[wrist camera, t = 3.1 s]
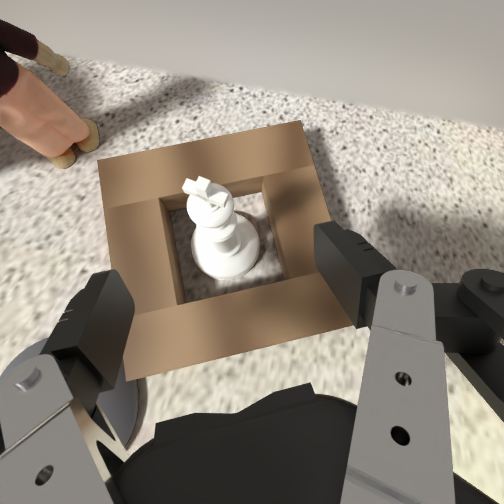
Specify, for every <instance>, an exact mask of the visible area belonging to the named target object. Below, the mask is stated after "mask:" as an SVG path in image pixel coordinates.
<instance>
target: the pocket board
mask: <svg viewBox="0 0 504 504" xmlns="http://www.w3.org/2000/svg"><path fill="white" fill-rule="evenodd" d="M97 162H98V170H99V178H100V185H101V193H102V200H103V208H104V216H105V223H106V231H107V239H108V246H109V254H110V262H111V269H115V270H117V271H118V273H119V274H120V276H121V278H122V280H123V281H124V283H125V285H126V287H127V289H128V290H129V292H130V294H131V296H132V298H133V300H134V304H135V313H134V317H133V321H132V324H131V328H130V332H129V336H128V339H127V343H126V347H125V350H124V354H123V361H124V368H125V376H126V382H127V381H131V380H135V379H139V378H143V377H147V376H151V375H155V374H159V373H163V372H167V371H171V370H175V369H179V368H183V367H187V366H191V365H195V364H199V363H203V362H207V361H212V360H216V359H220V358H224V357H228V356H232V355H236V354H240V353H244V352H248V351H252V350H256V349H260V348H264V347H268V346H272V345H276V344H280V343H284V342H288V341H292V340H296V339H300V338H304V337H308V336H312V335H316V334H320V333H324V332H328V331H332V330H336V329H340V328H344V327H348V326H352V325H353V323H352V322H351V320H350V318H349V317H348V315H347V314H346V312H345V311H344V309H343V308H342V306H341V305H340V303H339V301H338V300H337V298H336V297H335V295H334V294H333V292H332V291H331V289H330V288H329V286H328V284H327V283H326V281H325V280H324V278H323V277H322V275H321V274H320V272H319V271H318V269H317V267H316V264H315V259H314V232H313V229H314V225H315V224H319V223H324V222H328V221H331V219H330V215H329V212H328V209H327V205H326V202H325V199H324V195H323V192H322V189H321V186H320V182H319V179H318V176H317V172H316V169H315V166H314V163H313V159H312V156H311V153H310V149H309V146H308V143H307V140H306V136H305V133H304V130H303V126H302V123H301V120H298V121H293V122H288V123H283V124H278V125H273V126H268V127H263V128H258V129H253V130H248V131H243V132H238V133H233V134H228V135H223V136H218V137H212V138H207V139H202V140H197V141H192V142H187V143H182V144H177V145H172V146H167V147H162V148H157V149H152V150H147V151H142V152H137V153H132V154H127V155H122V156H116V157H111V158H106V159H101V160H97ZM199 176H200V177H203V178H206V179H208V180H210V181H211V183H215V184H219V185H221V186H223V187H225V188H226V189H227V190H228V191H229V192H230V193H231V195H232V197H233V198H234V197H239V196H244V195H248V194H253V193H258V192H262V195H263V199H264V203H265V207H266V211H267V215H268V219H269V223H270V226H271V230H272V234H273V238H274V242H275V246H276V250H277V254H278V258H279V262H280V266H281V269H282V273H283V277H284V281H279V282H275V283H271V284H267V285H262V286H258V287H254V288H250V289H245V290H241V291H237V292H232V293H228V294H224V295H220V296H215V297H211V298H207V299H203V300H198V301H194V302H190V303H186V299H185V293H184V288H183V282H182V277H181V271H180V266H179V260H178V255H177V249H176V244H175V238H174V233H173V227H172V222H171V216H170V211H173V210H178V209H182V208H187V201H188V198H189V196H190V195H189V194H186V193H184V191H183V189H182V187H183V185H184V183H185V181H186V179H187V178H188V179H190V180H193V181H197V179H198V177H199Z"/></svg>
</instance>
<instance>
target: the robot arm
mask: <svg viewBox="0 0 504 504" xmlns="http://www.w3.org/2000/svg"><path fill="white" fill-rule="evenodd" d="M313 232H314V259H315V264H316V267H317V269H318V271H319V272H320V274H321V275H322V277H323V278H324V280H325V281H326V283H327V284H328V286H329V288H330V289H331V291H332V292H333V294H334V295H335V297H336V298H337V300H338V301H339V303H340V305H341V306H342V308H343V309H344V311H345V312H346V314H347V315H348V317H349V318H350V320H351V322H352V323H353V325H354V326H355V328H356V329H358V328H362V327H366V326H368V328H369V329H370V331H371V332H370V338H369V343H368V349H367V355H366V361H365V366H364V372H363V378H362V384H361V389H360V395H359V401H358V406H357V405H355V404H353V403H351V402H349V401H346V400H344V399H341V398H338V397H334V396H330V395H323V394H315V393H314V390H313V388H312V385H311V382H310V383H307V384H303V385H299V386H295V387H291V388H288V389H284V390H280V391H276V392H273V393H271V394H270V395H268V396H266V397H264V398H263V399H261V400H259V401H257V402H256V403H254V404H252V405H250V406H249V407H247V408H245V409H243V410H242V411H240V412H238V413H233V414H225V413H193V414H189V415H185V416H181V417H178V418H174V419H170V420H166V421H162V422H159V423H156V427H155V435H154V438H153V439H151V440H150V441H148V442H147V443H146V444H144V445H143V446H141V447H140V448H139V449H138V450H137V451H135V452H134V453H133V454H132V455H131V456H130V455H129V454H128V452H127V451H126V450H125V448H124V447H123V445H122V443H121V442H120V440H119V438H118V436H117V434H116V433H115V431H114V429H113V427H112V426H111V424H110V422H109V420H108V418H107V417H106V415H105V413H104V411H103V410H102V408H101V406H100V405H99V404H98V403H97V399H98V395H99V393H101V392H105V391H109V390H113V389H114V388H115V384H116V380H117V377H118V373H119V369H120V365H121V362H122V358H123V354H124V350H125V347H126V343H127V339H128V336H129V332H130V328H131V324H132V321H133V317H134V313H135V304H134V300H133V298H132V296H131V294H130V292H129V290H128V289H127V287H126V285H125V283H124V281H123V280H122V278H121V276H120V274H119V273H118V271H117V270H115V269H112V270H107V271H103V272H98V273H94V274H92V276H91V277H90V279H89V281H88V283H87V285H86V286H85V288H84V289H82V290H80V291H79V292H78V293H77V294H76V295H75V296H74V297H73V298H72V299H71V300H70V302H69V304H68V306H67V307H66V309H65V313H63V314H62V316H61V318H60V319H59V322H58V323H57V325H56V326H55V328H54V330H53V332H52V333H51V335H50V337H49V338H48V340H47V342H46V344H45V345H44V347H43V349H42V351H41V352H40V354H39V355H38V356H35V357H32V358H30V359H28V360H26V361H25V362H23V363H21V364H20V365H18V366H17V367H16V368H14V369H13V370H12V371H11V372H10V373H9V374H8V375H7V376H6V377H5V378H4V379H3V381H2V382H1V383H0V504H499V503H497V502H496V501H495V500H493V499H492V498H490V497H489V496H487V495H486V494H484V493H483V492H482V491H480V490H479V489H477V488H476V487H474V486H473V485H472V484H470V483H469V482H467V481H466V480H464V479H463V478H461V477H460V476H459V475H457V474H456V473H454V472H453V465H452V451H451V438H450V424H449V411H448V397H447V383H446V370H445V356H444V352H445V353H446V354H447V355H448V357H449V358H450V359H451V360H452V361H453V363H454V364H455V365H456V366H457V367H458V369H459V370H460V371H461V372H462V373H463V374H464V376H465V377H466V378H467V379H468V380H469V382H470V383H471V384H472V385H473V386H474V388H475V389H476V390H477V391H478V392H479V394H480V395H481V396H482V397H483V398H484V400H485V401H486V402H487V403H488V404H489V405H490V407H491V408H492V409H493V410H494V411H495V413H496V414H497V415H498V416H499V417H500V419H501V420H502V421H503V422H504V346H503V345H502V344H501V343H500V340H501V339H502V338H503V339H504V273H501V272H498V271H494V270H488V269H474V270H470V271H467V272H466V273H464V275H463V276H462V279H461V281H460V283H430V281H429V280H428V279H426V278H425V277H424V276H422V275H420V274H418V273H415V272H412V271H408V270H398V269H396V268H395V267H394V266H393V265H392V264H391V263H390V262H389V261H388V260H387V259H386V258H385V257H384V256H383V255H381V254H380V253H379V252H378V251H377V250H376V249H374V247H373V246H372V245H371V244H370V243H368V241H366V240H365V239H364V238H363V237H362V236H361V235H360V234H358V233H356V232H353V231H351V230H349V229H347V230H343V229H342V228H341V227H340V226H339V225H338V224H337V223H336V222H335V221H328V222H324V223H319V224H315V225H314V229H313Z"/></svg>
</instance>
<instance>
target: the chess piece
mask: <svg viewBox="0 0 504 504" xmlns="http://www.w3.org/2000/svg"><path fill="white" fill-rule="evenodd" d="M182 189H183V191H184V193H186V194H189V195H190V196H189V198H188V201H187V211H188V214H189V216H190V218H191V219H192V221H193V222H194V223H196V229H195V230H194V233H193V235H192V239H191V252H192V256H193V259H194V261H195V263H196V265H197V266H198V267H199V269H200V270H201V271H202V272H204V273H205V274H206V275H208V276H210V277H212V278H215V279H219V280H231V279H236V278H238V277H241V276H242V275H244V274H246V273H247V272H248V271H249V270H250V269H251V268H252V267H253V266H254V264H255V263H256V261H257V259H258V256H259V252H260V241H259V236H258V234H257V231H256V229H255V228H254V226H253V225H252V223H251V222H250V221H249V220H247V219H246V218H245V217H243V216H242V215H239V214H237V213H235V212H234V200H233V197H232V195H231V193H230V192H229V191H228V190H227V189H226V188H225V187H223V186H221V185H219V184H215V183H211V181H210V180H208V179H206V178H203V177H200V176H199V177H198V179H197V181H193V180H190V179H188V178H187V179H186V181H185V183H184V185H183V187H182Z"/></svg>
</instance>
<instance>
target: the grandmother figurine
mask: <svg viewBox="0 0 504 504" xmlns="http://www.w3.org/2000/svg"><path fill="white" fill-rule="evenodd" d="M4 51H6V52H9V53H12V54H15V55H18V56H21V57H24V58H27V59H29V60H34V61H36V62H37V63H39V64H41V65H43V66H45V67H49V68H50V69H51V70H52V71H53V72H54V73H56V74H58V75H61V76H64V75H67V74H68V73H69V70H70V66H69V63H68V61H67V60H66V59H65V58H64V57H63V56H61V55H59V54H55V53H54V52H53V51H52V50H51V49H50V48H49V47H48V46H46V45H45V44H43V43H42V42H40V41H39V40H37V39H36V37H35V36H34V35H33V34H31V33H29V32H27V31H25V30H22V29H20V28H18V27H16V26H14V25H12V24H10V23H8V22H5V21H3V20H0V126H1V127H2V128H3V129H4V130H6V131H7V132H8V133H10V134H11V135H12V136H14V137H15V138H17V139H19V140H20V141H22V142H24V143H25V144H27V145H28V146H30V147H32V148H33V149H35V150H36V151H38V152H39V153H41V154H43V155H44V156H45V157H46V158H47V159H48V160H49V161H51V162H52V163H53V164H54V165H55V166H56V167H58V168H61V169H65V168H68V167H69V166H70V165H72V164H73V163H74V161H75V158H76V157H75V154H74V152H73V150H72V148H71V147H70V146H71V145H72V144H73V143H74V142H76V143H77V145H78V147H79V148H80V150H82V151H84V152H90V151H92V150H95V149H96V148H97V147H98V146H99V135H98V129H97V125H96V124H95V123H94V122H93V121H91V120H89V119H85V118H80V117H79V116H78V115H77V114H76V113H75V112H74V111H73V110H72V109H71V108H70V107H68V106H67V105H66V104H65V103H64V102H63V101H62V100H61V99H60V98H59V97H58V96H57V95H56V94H55V93H54V92H53V91H52V90H51V89H50V88H49V87H48V86H46V85H45V84H44V83H43V82H42V81H41V80H40V79H39V78H38V77H37V76H35V75H34V74H33V73H32V72H31V71H30V70H28V69H26V68H24V67H23V66H21V65H20V64H18V63H17V62H15V61H14V60H12V59H11V58H10V57H9V56H7V54H6V53H5V52H4Z"/></svg>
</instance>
